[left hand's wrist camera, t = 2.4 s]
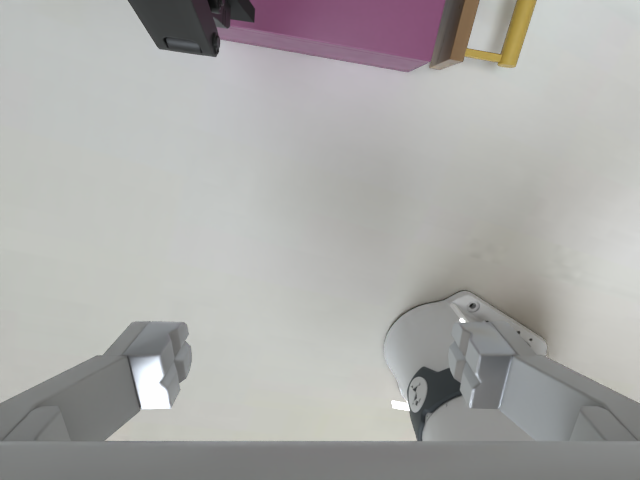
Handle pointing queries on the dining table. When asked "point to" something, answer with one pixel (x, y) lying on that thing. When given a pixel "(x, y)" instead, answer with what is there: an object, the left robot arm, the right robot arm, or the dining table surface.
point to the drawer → (458, 31)
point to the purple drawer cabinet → (345, 30)
